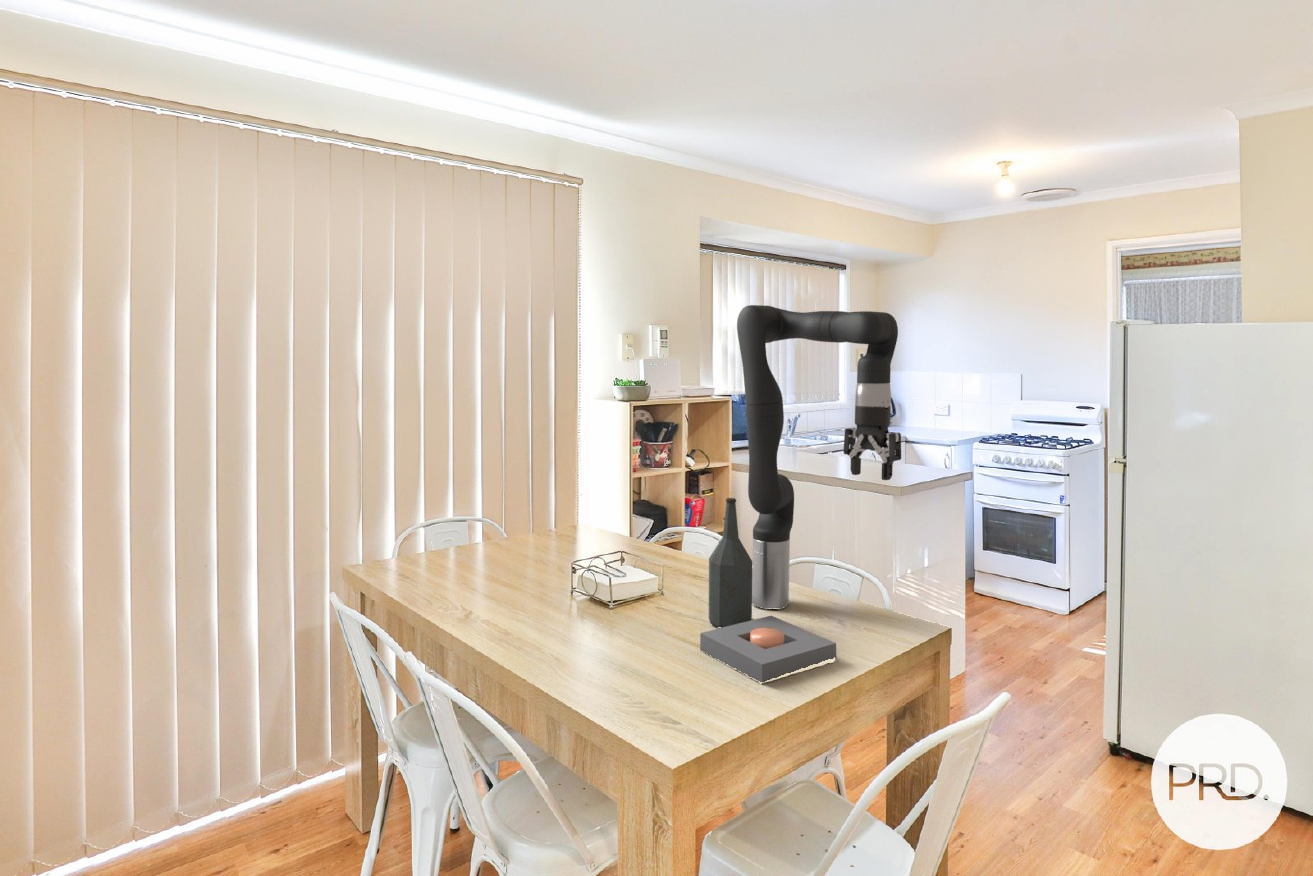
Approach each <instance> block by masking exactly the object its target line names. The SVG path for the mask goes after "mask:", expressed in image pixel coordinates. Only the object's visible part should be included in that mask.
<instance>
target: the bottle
mask: <svg viewBox="0 0 1313 876" xmlns="http://www.w3.org/2000/svg"><path fill="white" fill-rule="evenodd" d="M725 502H726V503H725V505H726V506H725V513H724V521H723V532H722V538H720V540H719V542H718V544H717V545H716V546H715V549H714V550H713V551H712V552H711V555H710V556H709V558H708V620H709V623H710V624H712V625H714V626H716V627H715V628H717V627H721V628H722V627H727V626H731V625H735V624H739V623H743V622H747V621H751V620H753V619H752V618H753V617H752V616H753V604H752V565H753V559H751V557H750V555H749V553H748V551H747V549H746V548H745V546H744V544H743V543H742V541H741V540H740V538H739V527H738V517H737V508H736V507H737V506H736V503H737V499H736V498H734V497H726V499H725ZM712 625H711V626H712ZM714 626H713V627H714Z"/></svg>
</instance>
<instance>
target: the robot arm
mask: <svg viewBox="0 0 1313 876" xmlns="http://www.w3.org/2000/svg"><path fill="white" fill-rule="evenodd" d="M897 323H898V322H897V320H896V318H895V317H894V316H893V315H892V314H890V313H888V312H886V311H885V312H883V311H870V310H869V311H868V310H867V311H866V310H865V311H864V310H863V311H862V310H861V311H851V312H850V311H843V310H842V311H841V310H840V311H839V310H836V311H835V310H819V311H818V310H817V311H810V312H800V311H798V312H797V311H791V310H787V309H783V308H780V307H779V308H778V307H775V306H771V305H764V304H763V305H757V304H755V305H754V304H751V305H746V306H745V307H742V309H741V310H740V311H739V313H738V317H737V321H736V331H737V338H738V346H739V350H740V351H739V352H740V356H741V363H742V364H741V365H742V373H743V374H742V375H743V382H744V383H743V384H744V394H745V395H744V396H745V397H744V399H745V403H744V404H745V417H746V427H747V428H746V429H747V445H748V457H749V458H748V459H749V460H748V487H747V494H748V495H747V496H748V500H749V503H750V505H751V507H752V508H753V509H754V510H755V511H756V512H757V513H759V515H758V518H757V521H756V522H755V524H754V526H753V529H752V605H753V604H754V605H756V606H758V607H762V608H772V609H773V608H783V607H786V606H787V605H788V604H790V602H789V601H790V553H791V552H790V547H791V546H790V545H791V542H790V540H791V537H790V536H791V530H792V528H793V524H794V511H795V491H794V487H793V484H792V482H791V480H790V479H789V477H787V476H785V475H783V474H781V473H778V471H779V470H778V453H779V452H778V450H779V446H780V443H781V439H782V433H783V430H784V422H785V421H784V420H785V416H784V415H785V414H784V400H783V394H782V391H781V388H780V386H779V384H778V382H777V380H776V379H775V375H773V373H772V371H771V368H770V366H769V365H770V364H769V363H768V357H767V348H766V347H767V345H766V344H770V343H773V342H777V341H778V342H779V341H786V340H791V339H792V340H793V339H803V340H807V341H809V340H810V341H813V342H821V343H839V344H840V343H841V344H842V343H850V344H851V343H852V344H858V345H859V344H860V345H867V348H866V354H865V355H864V356H862V357H860V358H859V359H858V361H857V369H856V371H857V372H856V374H857V375H856V386H855V387H856V389H855V394H854V395H855V396H854V397H855V399H854V401H855V402H854V424H855V425H856V427H848V428H845V429H844V438H843V450H842V451H843V454H844V455H847V456H848V457H849V458H850V472H851V475H853V476H858V475H860V474H861V472H862V470H861V469H862V468H861V467H862V458H861V456H862V455H863V453H864V452H865V451H867V450H870V451H873V452H874V451H875V452H876V454H877V455H879V457H880V458H881V461H882V462H881V481H890V480H891V478H892V477H893V468H894V467H893V466H894V465H893V464H894V462H896V461H901V460H902V433H901V432H890V431H889V426H890V424H891V414H892V413H891V411H892V410H891V409H892V408H891V407H892V391H891V369H892V368H891V365H892V360H893V357H894V354H895V349H896V347H897V346H896V345H897V341H898V335H899V330H898V329H899V328H898V324H897ZM754 605H753V606H754ZM788 606H789V605H788ZM758 607H757V608H758ZM786 608H787V607H786Z"/></svg>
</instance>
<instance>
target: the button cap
mask: <svg viewBox="0 0 1313 876" xmlns="http://www.w3.org/2000/svg"><path fill="white" fill-rule="evenodd" d="M750 642H751V643H753V644H755V645H757V646H759V647H761V648H763V649H768V648H771V647H775V646H779V645H782V644H784V633H783V632H782V631H780V630H777V629H772V628H758V629H754V630H752V631H751V632H750Z"/></svg>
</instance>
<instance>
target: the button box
mask: <svg viewBox="0 0 1313 876" xmlns="http://www.w3.org/2000/svg"><path fill="white" fill-rule="evenodd" d="M758 628H772V629H777V630H780V631H782V632H783V633H784V644H782V645H779V646H775V647H771V648H768V649H763V648H761V647H759V646H757V645H755V644H753V643H751V642H750V632H751V631H752V630H754V629H758ZM699 635H700V636H699V637H700V638H699V640H700V642H699V643H700V644H699V646H700V647H699V649H700V650H701V651H703V652H705V653H707V654H708V655H707V654H706V655H707V656H709V655H711V656H712V657H714V658H716V659H719V660H720V661H722V662H724V663H725V664H728V665H729V666H731V667H733V668H736V669H737V670H739V671H741V672H742V673H745V674H747V675H748V676H749V677H752V678H754V679H756V680H758V681H760V682H765V681H767V680H770V679H772V678H777V677H779V676H781V675H784V674H786V673H791V672H794V671H796V670H799V669H801V668H806V667H808V666H810V665H813V664H818V663H820V662H822V661H825V660H828V659H833V658H834V657H836V658H837V642H835V641H833V640H831V639H828V638H825V637H823V636H821V635H818V634H816V633H813V632H812V631H808V630H806V629H804V628H803V627H800V626H797V625H794V624H792V623H790V622H787V621H785V620H783V619H781V618H778V617H775V616H773V615H769V616H764V617H760V618H755V619H752V620H751V621H747V622H743V623H739V624H735V625H731V626H727V627H722V628H714V629H711V630H707V631H702V632H700V633H699ZM701 651H700V652H701ZM703 652H702V653H703ZM705 653H704V654H705ZM712 657H711V658H712ZM714 658H713V659H714ZM716 659H715V660H716ZM720 661H719V662H720ZM725 664H724V665H725ZM729 666H728V667H729ZM731 667H730V668H731ZM742 673H741V674H742ZM749 677H748V678H749Z"/></svg>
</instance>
